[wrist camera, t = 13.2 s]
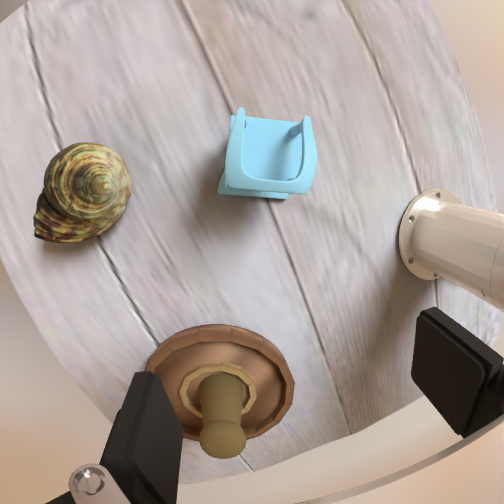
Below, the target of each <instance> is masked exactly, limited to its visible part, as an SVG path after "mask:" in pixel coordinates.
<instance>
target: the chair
mask: <svg viewBox="0 0 504 504" xmlns="http://www.w3.org/2000/svg"><path fill="white" fill-rule="evenodd" d="M301 152H302V160H301ZM300 164H301V165H300ZM316 165H317V150H316V145H315V140H314V136H313V132H312V127H311V119H310V117H309V116H305V117H304V118H303V120H302V122H301V123H296V122H288V121H280V120H271V119H262V118H254V117H245V110H244V108H242V107H241V108H239V109H238V110H237V113H236V116H233V115H231V122H230V133H229V141H228V145H227V150H226V158H225V169H224V172H223V174H222V177H221V179H220V182H219V185H218V193H219V194H224V195H239V196H253V197H266V198H278V199H287V198H289V193H290V194H306V193H307V192H308V191H309V189H310V187H311V184H312V181H313V178H314V175H315V171H316ZM231 188H232V189H231ZM242 189H245V190H242ZM254 190H256V191H254ZM266 191H267V192H266ZM277 192H279V193H277Z"/></svg>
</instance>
